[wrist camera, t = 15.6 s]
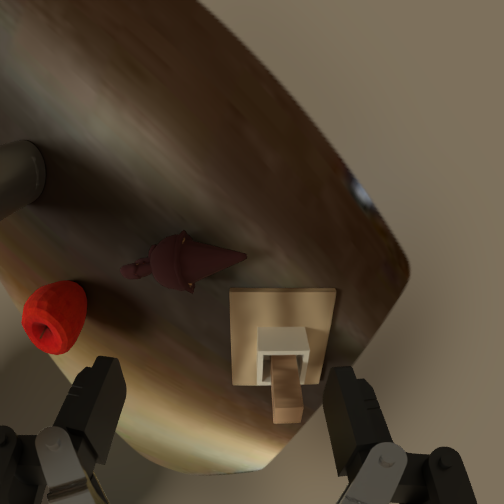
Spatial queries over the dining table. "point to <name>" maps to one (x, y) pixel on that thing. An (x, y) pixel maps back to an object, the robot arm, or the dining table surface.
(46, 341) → the apple
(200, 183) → the dining table surface
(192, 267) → the icecream
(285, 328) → the white square box
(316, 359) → the wooden board
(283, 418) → the square wooden post
